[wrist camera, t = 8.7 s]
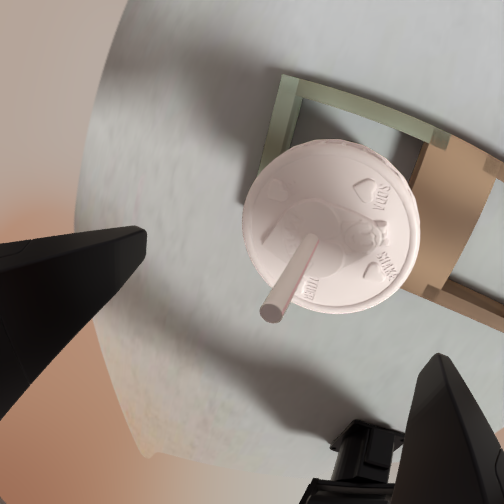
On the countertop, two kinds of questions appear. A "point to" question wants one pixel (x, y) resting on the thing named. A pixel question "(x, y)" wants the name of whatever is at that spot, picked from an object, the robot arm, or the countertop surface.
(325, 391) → the countertop surface
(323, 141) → the smoothie
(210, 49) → the countertop surface
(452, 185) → the caddy
